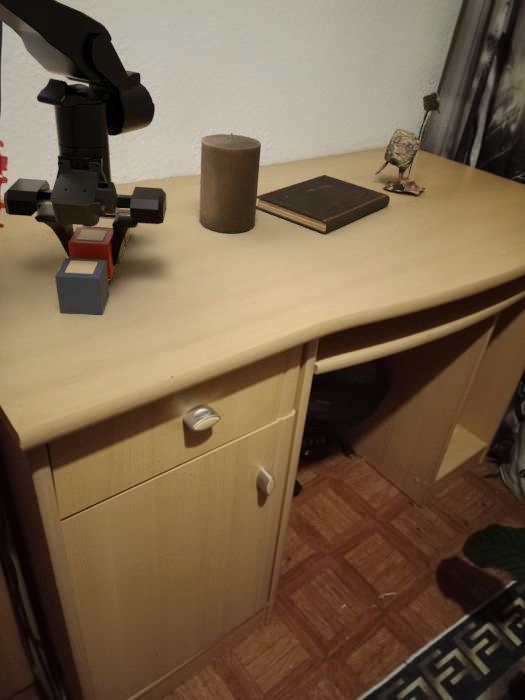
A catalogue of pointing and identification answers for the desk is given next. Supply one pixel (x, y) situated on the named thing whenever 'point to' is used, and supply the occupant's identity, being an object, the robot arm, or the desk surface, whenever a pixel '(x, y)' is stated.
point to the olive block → (107, 224)
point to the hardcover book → (322, 203)
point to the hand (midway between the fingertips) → (94, 263)
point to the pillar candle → (229, 182)
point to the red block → (93, 246)
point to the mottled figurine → (407, 150)
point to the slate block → (82, 286)
